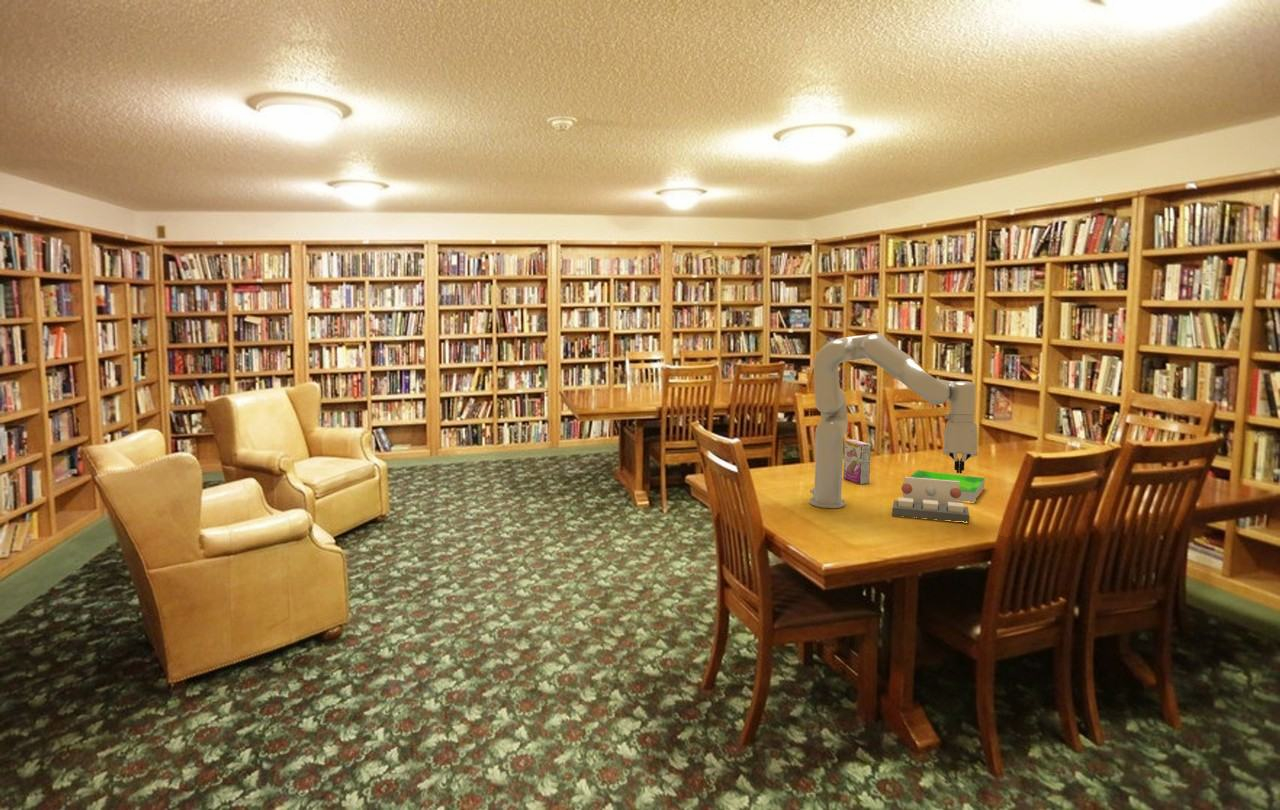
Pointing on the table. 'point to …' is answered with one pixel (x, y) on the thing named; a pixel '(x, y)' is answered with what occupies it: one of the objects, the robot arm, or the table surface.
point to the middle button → (930, 504)
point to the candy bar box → (857, 461)
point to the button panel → (930, 491)
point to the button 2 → (955, 507)
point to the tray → (967, 483)
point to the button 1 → (905, 502)
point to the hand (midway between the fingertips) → (959, 472)
